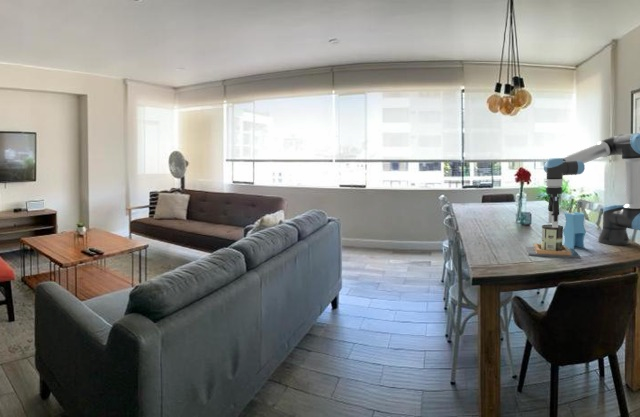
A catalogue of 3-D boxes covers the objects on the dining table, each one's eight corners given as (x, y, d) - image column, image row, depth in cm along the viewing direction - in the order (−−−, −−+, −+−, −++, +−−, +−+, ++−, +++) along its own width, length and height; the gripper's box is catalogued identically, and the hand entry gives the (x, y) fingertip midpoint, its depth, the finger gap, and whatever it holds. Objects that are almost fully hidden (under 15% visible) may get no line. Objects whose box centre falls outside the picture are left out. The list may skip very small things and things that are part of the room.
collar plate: (573, 250, 224) (573, 245, 224) (579, 258, 209) (580, 252, 208) (525, 248, 233) (525, 243, 233) (528, 255, 218) (528, 249, 217)
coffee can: (557, 248, 225) (559, 224, 223) (565, 253, 215) (566, 227, 213) (538, 248, 227) (539, 224, 225) (544, 253, 217) (545, 227, 215)
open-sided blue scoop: (574, 245, 238) (575, 212, 235) (584, 247, 230) (586, 213, 227) (562, 246, 236) (563, 212, 234) (572, 248, 229) (574, 214, 226)
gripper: (543, 184, 229) (542, 221, 232) (549, 189, 206) (548, 229, 209) (558, 184, 226) (556, 221, 229) (566, 188, 203) (565, 229, 206)
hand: (553, 225), depth 219 cm, fingers open, 13 cm apart
